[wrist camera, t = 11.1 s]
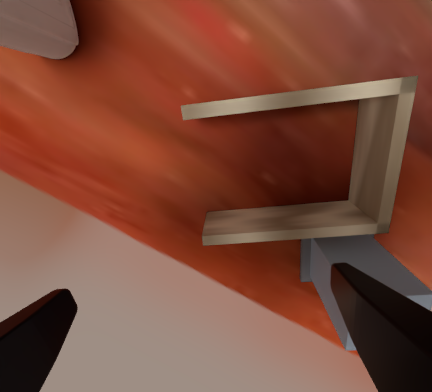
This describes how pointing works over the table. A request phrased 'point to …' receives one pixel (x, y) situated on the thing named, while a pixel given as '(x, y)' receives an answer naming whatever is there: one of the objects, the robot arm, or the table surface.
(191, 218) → the table surface
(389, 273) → the slate block
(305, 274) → the felt coaster
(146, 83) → the table surface
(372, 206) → the u-shaped bracket
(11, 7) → the white rounded slab
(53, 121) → the table surface
